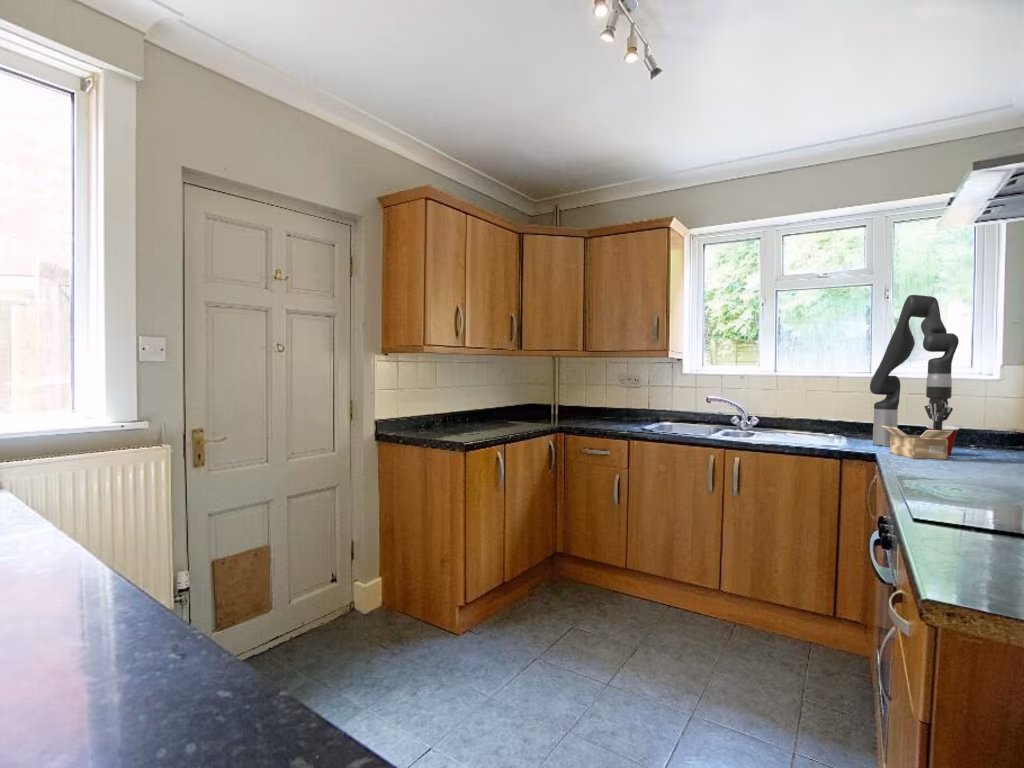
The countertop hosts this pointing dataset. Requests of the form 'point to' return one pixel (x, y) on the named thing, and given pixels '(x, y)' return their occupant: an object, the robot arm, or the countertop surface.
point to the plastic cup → (950, 437)
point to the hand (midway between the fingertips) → (937, 430)
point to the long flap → (894, 431)
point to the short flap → (936, 434)
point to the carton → (919, 447)
